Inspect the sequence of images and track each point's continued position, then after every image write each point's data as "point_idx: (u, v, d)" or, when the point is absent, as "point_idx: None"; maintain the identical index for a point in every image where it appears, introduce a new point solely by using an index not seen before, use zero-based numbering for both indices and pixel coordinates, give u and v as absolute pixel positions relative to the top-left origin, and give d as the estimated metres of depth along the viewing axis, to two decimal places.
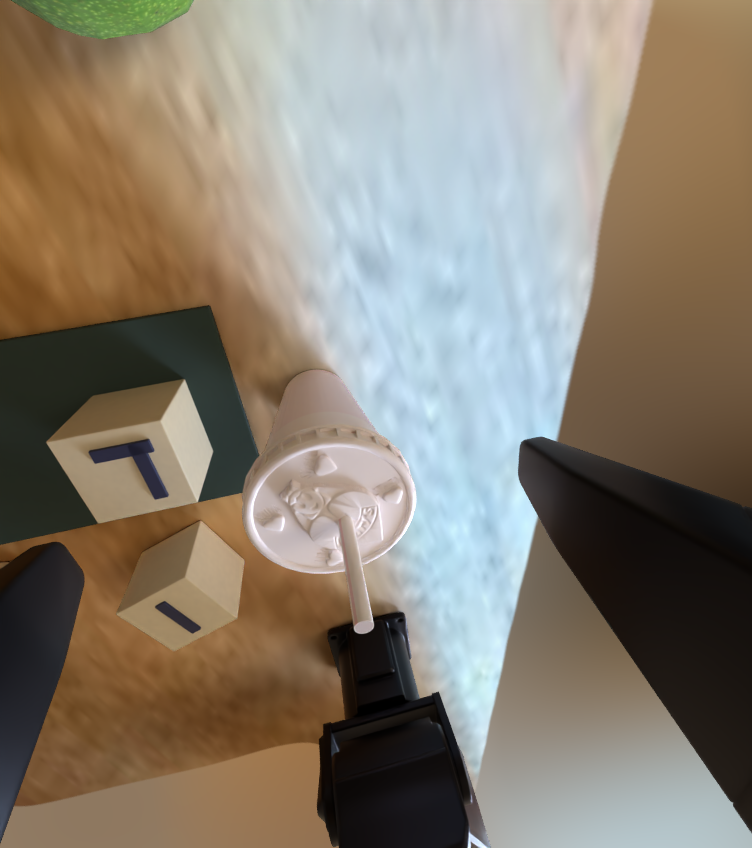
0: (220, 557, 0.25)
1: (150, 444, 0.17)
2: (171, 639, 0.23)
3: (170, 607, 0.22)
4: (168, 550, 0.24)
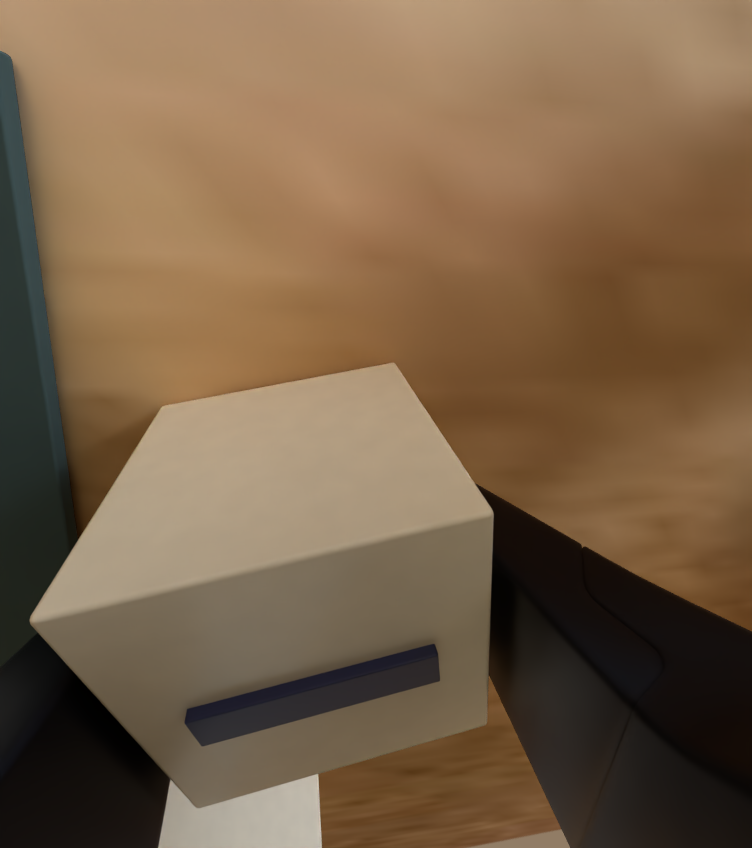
0: (278, 417, 0.06)
1: None
2: (425, 722, 0.06)
3: (233, 706, 0.05)
4: None
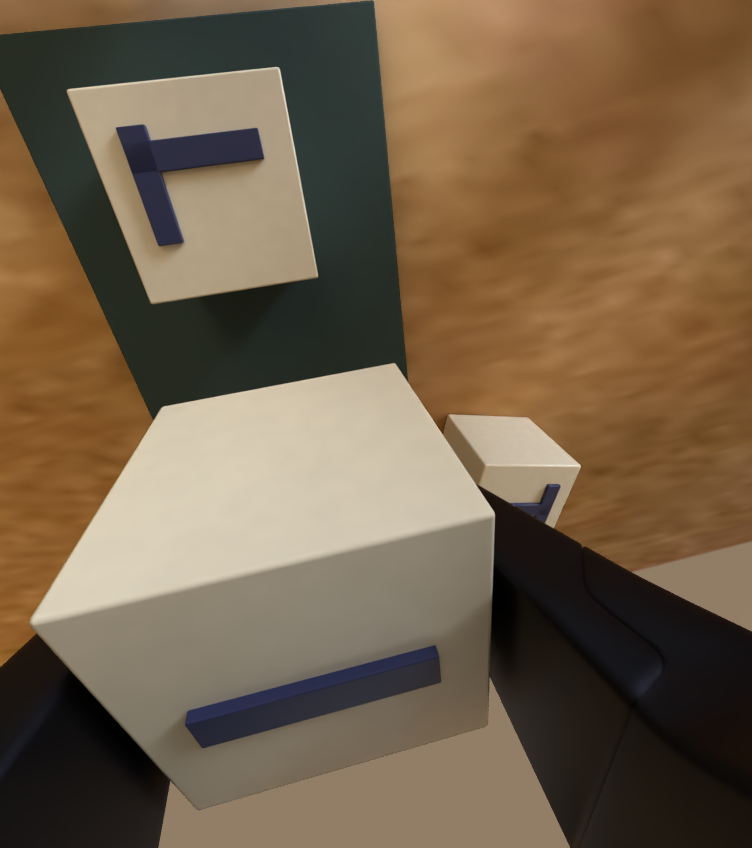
0: (279, 418, 0.06)
1: (124, 126, 0.09)
2: (425, 724, 0.06)
3: (233, 708, 0.05)
4: None
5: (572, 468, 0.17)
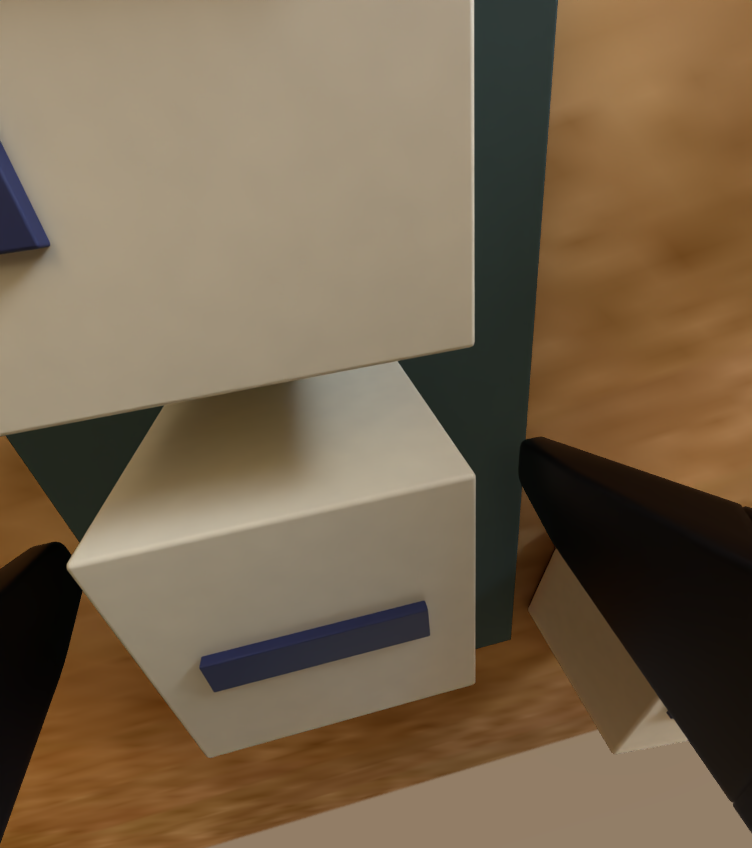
0: (282, 400, 0.07)
1: None
2: (417, 679, 0.06)
3: (243, 654, 0.05)
4: None
5: None
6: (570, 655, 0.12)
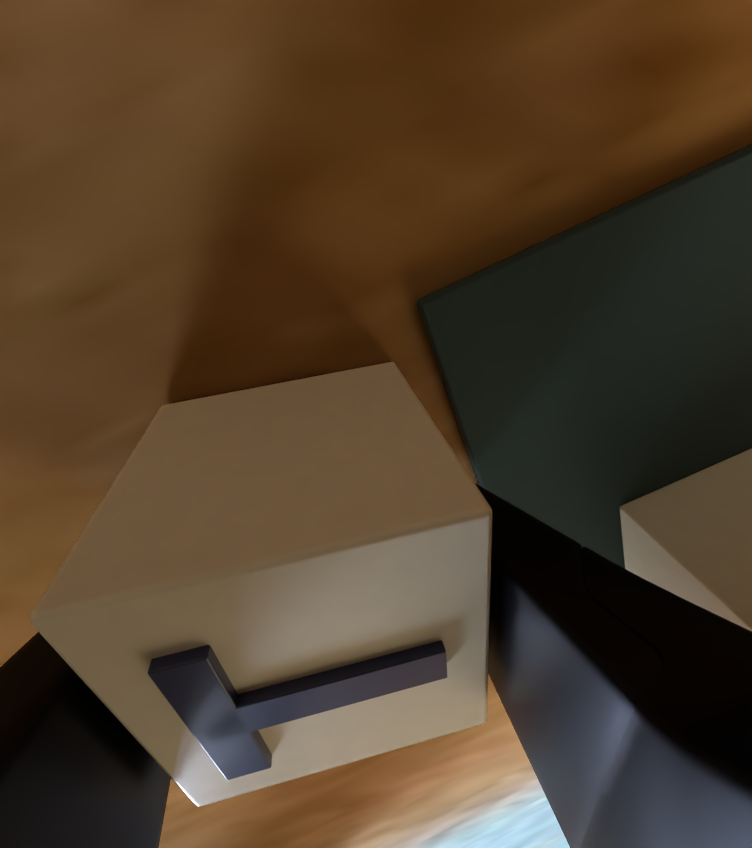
0: None
1: None
2: None
3: None
4: None
5: (224, 797, 0.06)
6: None
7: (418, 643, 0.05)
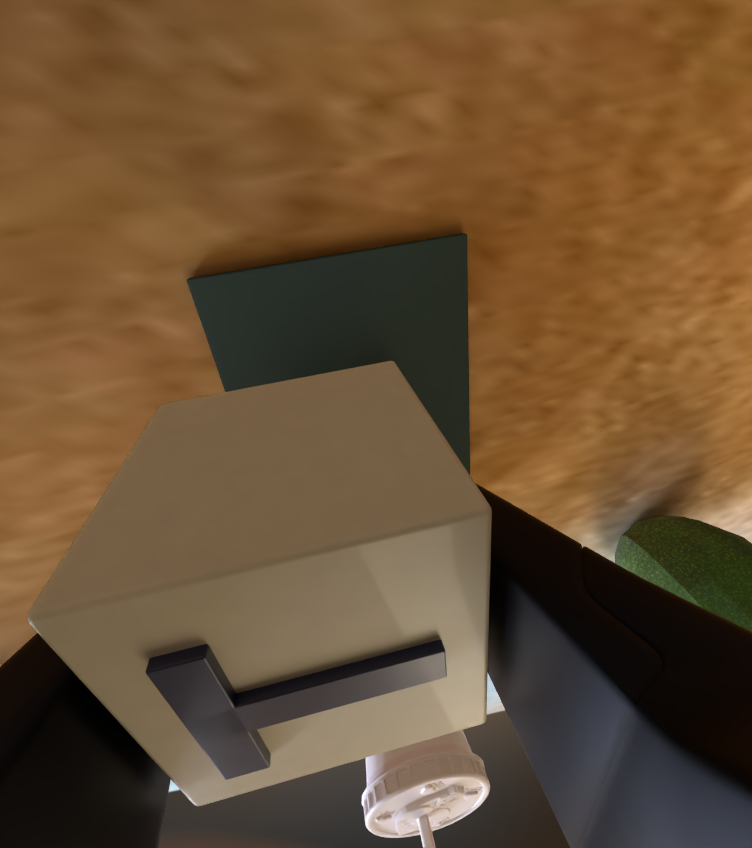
0: None
1: None
2: None
3: None
4: None
5: (222, 798, 0.06)
6: None
7: (416, 641, 0.05)
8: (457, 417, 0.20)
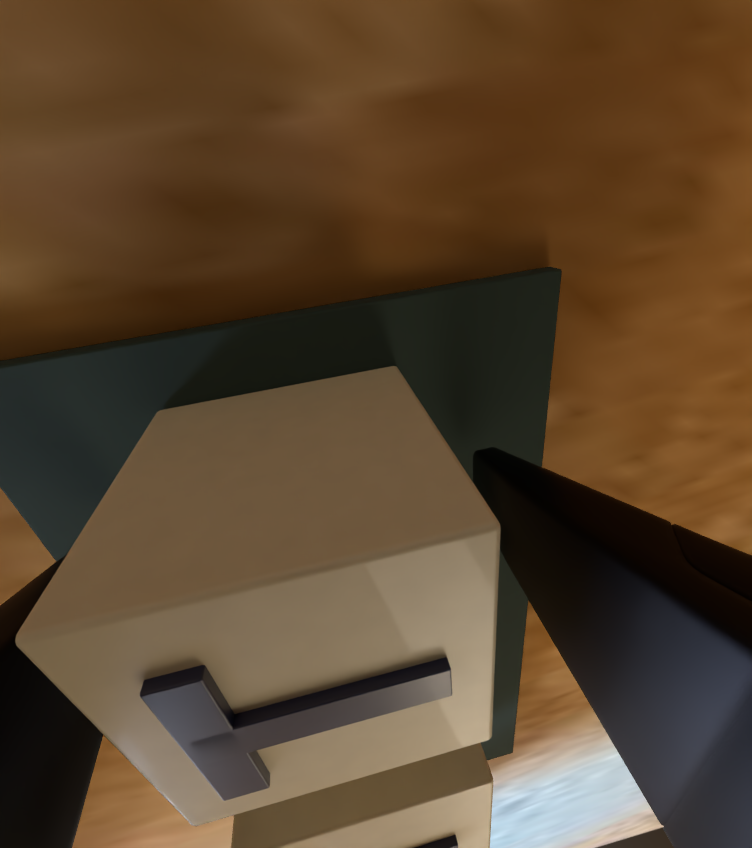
0: None
1: None
2: None
3: None
4: None
5: (221, 817, 0.06)
6: None
7: (421, 660, 0.05)
8: (511, 576, 0.12)
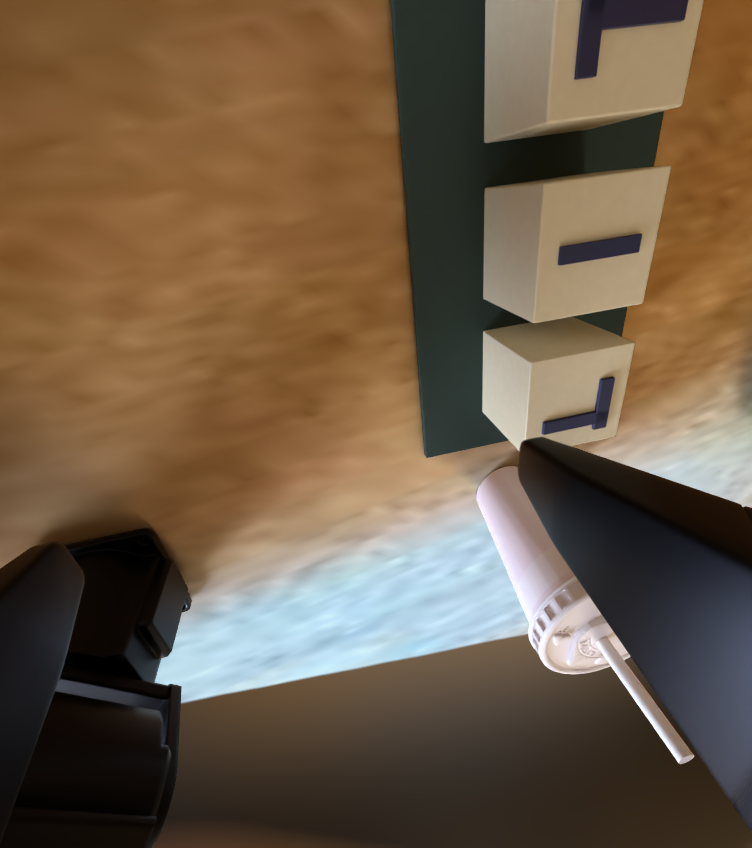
0: None
1: (601, 428, 0.18)
2: (570, 203, 0.13)
3: (624, 253, 0.14)
4: None
5: (561, 117, 0.12)
6: None
7: None
8: None
